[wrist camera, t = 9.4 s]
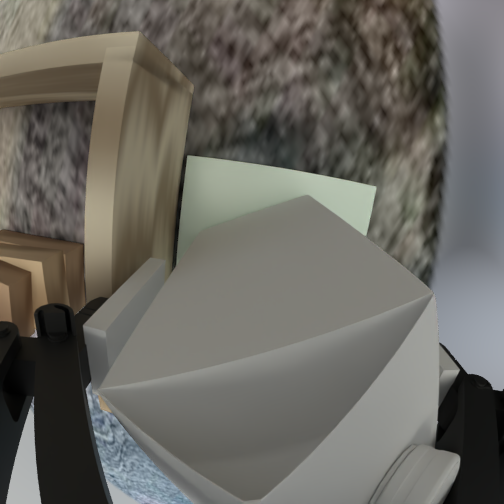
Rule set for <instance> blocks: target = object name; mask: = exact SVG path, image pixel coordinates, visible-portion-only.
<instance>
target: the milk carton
mask: <svg viewBox="0 0 504 504" xmlns="http://www.w3.org/2000/svg"><path fill="white" fill-rule="evenodd" d="M97 391H98V393H99V395H100V396H101V398H102V399H103V400H104V402H105V403H106V405H107V406H108V407H109V409H110V410H111V411H112V413H113V414H114V415H115V417H116V418H117V419H118V421H119V422H120V423H121V425H122V426H123V427H124V428H125V430H126V431H127V432H128V433H129V435H130V436H131V437H132V438H133V439H134V441H135V442H136V443H137V444H138V445H139V447H140V448H141V449H142V450H143V451H144V452H145V454H146V455H147V456H148V457H149V458H150V459H151V460H152V461H153V463H154V464H155V465H156V466H157V467H158V468H159V469H160V470H161V471H162V472H163V473H164V474H165V475H166V477H167V478H168V479H169V480H170V481H171V482H172V483H173V484H174V485H175V486H176V487H177V488H178V489H179V490H180V491H181V492H182V493H183V494H184V495H185V496H186V497H187V498H188V499H190V500H191V501H192V502H193V503H194V504H443V502H444V501H445V499H446V497H447V495H448V493H449V491H450V489H451V487H452V485H453V483H454V481H455V478H456V476H457V473H458V470H459V466H460V456H459V455H458V454H455V453H452V452H448V451H444V450H437V449H435V441H436V431H437V418H438V400H439V332H438V318H437V306H436V298H435V295H434V293H433V292H432V291H431V290H430V289H429V288H428V287H427V286H426V285H425V284H424V283H423V282H422V281H420V280H419V279H418V278H417V277H416V276H415V275H413V274H412V273H411V272H410V271H409V270H407V269H406V268H405V267H404V266H403V265H401V264H400V263H399V262H398V261H396V260H395V259H394V258H393V257H391V256H390V255H389V254H388V253H386V252H385V251H384V250H382V249H381V248H380V247H379V246H377V245H376V244H375V243H373V242H372V241H371V240H369V239H368V238H367V237H366V236H364V235H363V234H362V233H360V232H359V231H358V230H356V229H355V228H354V227H352V226H351V225H350V224H348V223H347V222H346V221H344V220H343V219H341V218H340V217H339V216H337V215H336V214H335V213H333V212H332V211H330V210H329V209H328V208H326V207H325V206H324V205H322V204H321V203H319V202H318V201H317V200H315V199H314V198H312V197H311V196H309V195H304V196H301V197H298V198H295V199H292V200H289V201H286V202H283V203H280V204H277V205H274V206H271V207H268V208H265V209H262V210H259V211H256V212H253V213H250V214H247V215H244V216H241V217H239V218H236V219H233V220H230V221H227V222H224V223H221V224H219V225H216V226H213V227H210V228H207V229H205V230H202V231H200V232H199V233H198V235H197V236H196V238H195V239H194V241H193V242H192V244H191V245H190V246H189V248H188V249H187V251H186V252H185V254H184V255H183V257H182V258H181V260H180V261H179V263H178V264H177V266H176V267H175V269H174V270H173V272H172V273H171V275H170V276H169V278H168V279H167V281H166V282H165V284H164V285H163V287H162V288H161V290H160V291H159V293H158V294H157V296H156V297H155V299H154V300H153V302H152V303H151V305H150V306H149V308H148V310H147V311H146V313H145V314H144V316H143V317H142V319H141V320H140V322H139V324H138V325H137V327H136V328H135V330H134V332H133V333H132V335H131V336H130V338H129V340H128V341H127V343H126V344H125V346H124V348H123V349H122V351H121V352H120V354H119V356H118V357H117V359H116V361H115V362H114V364H113V366H112V367H111V369H110V371H109V372H108V374H107V376H106V377H105V379H104V381H103V382H102V384H101V386H100V387H99V389H97Z"/></svg>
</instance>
